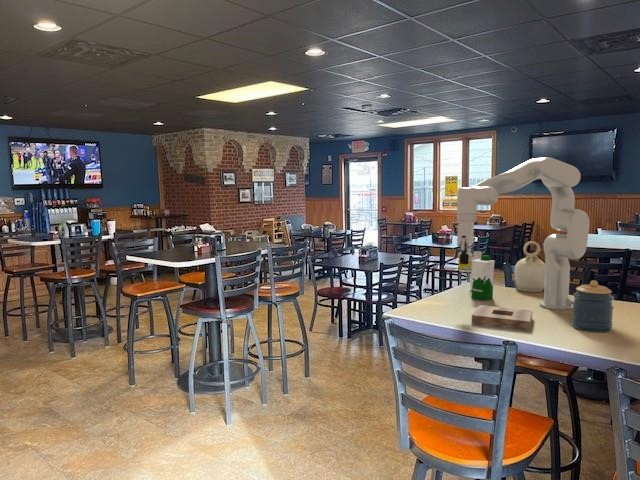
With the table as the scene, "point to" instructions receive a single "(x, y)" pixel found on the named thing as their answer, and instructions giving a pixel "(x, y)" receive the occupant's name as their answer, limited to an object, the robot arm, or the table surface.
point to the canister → (592, 308)
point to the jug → (530, 271)
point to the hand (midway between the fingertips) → (465, 262)
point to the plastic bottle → (476, 256)
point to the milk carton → (482, 278)
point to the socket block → (502, 317)
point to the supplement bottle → (466, 266)
